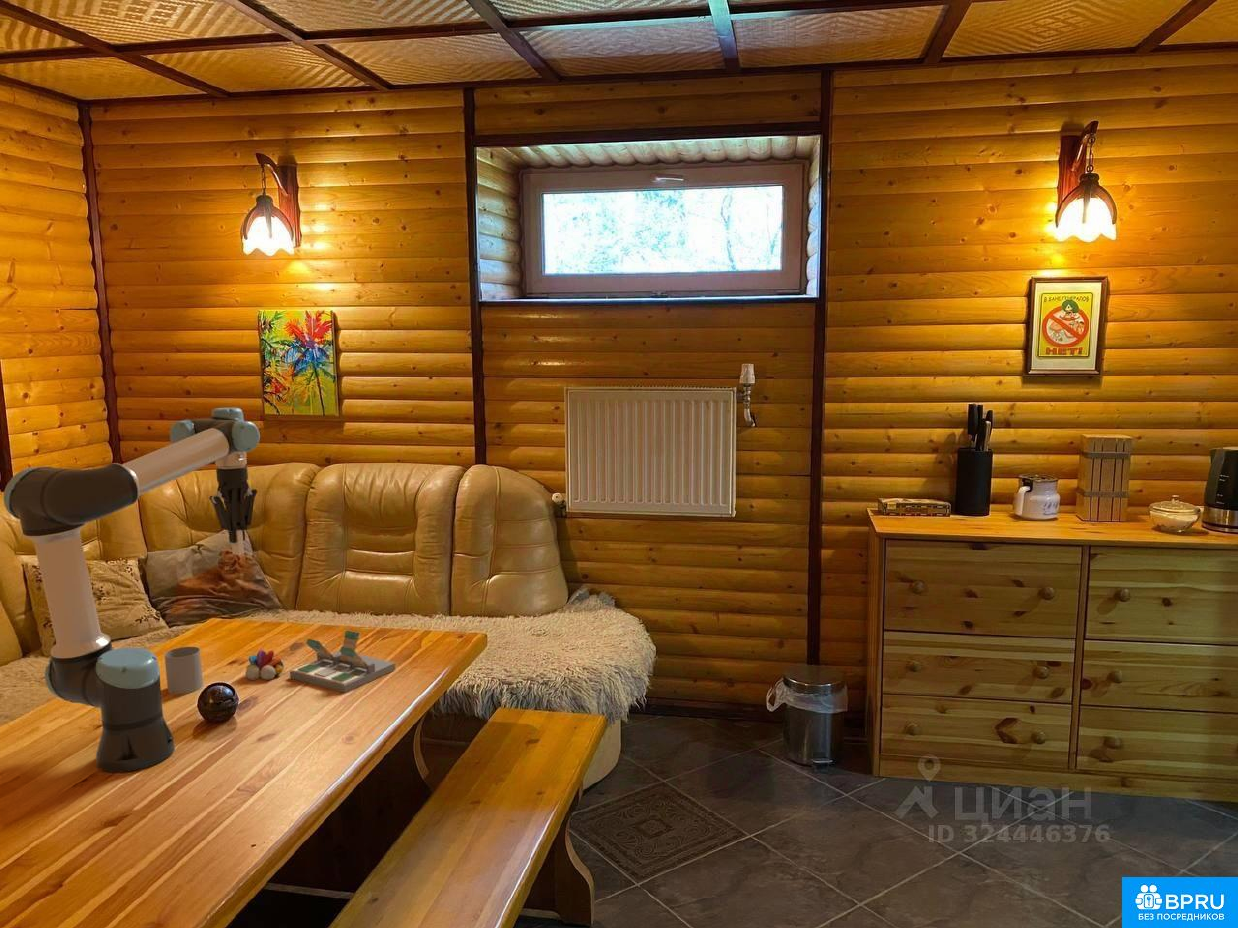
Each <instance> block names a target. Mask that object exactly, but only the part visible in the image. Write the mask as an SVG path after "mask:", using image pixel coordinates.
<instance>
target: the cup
mask: <svg viewBox="0 0 1238 928" xmlns="http://www.w3.org/2000/svg"><path fill="white" fill-rule="evenodd" d="M164 663H165V664H164V665H165V674H166V677H165V678H166V685H167V692H168V694H170V695H175V696H176V695H177V696H181V695H188V694H190V693H191V694H192V693H196V692H197V691H199V690H201V689H202V688H203V687H204V679H203V670H202V658H201V648H200V647H198V646H181V647H177V648H173V649H170V650H168V651H166V652H165V653H164Z"/></svg>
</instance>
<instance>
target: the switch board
mask: <svg viewBox="0 0 1238 928" xmlns="http://www.w3.org/2000/svg"><path fill="white" fill-rule="evenodd" d="M331 654H332V655H333V657H332V658H333V661H330V660H326V659H323V658H322V657H321V656H320V655H318V654H317V653H316V658H317V659H316V660H314V661H312V662H309V663H306V664H304V665H301V666H298V667H297V668H294V669H292V670H290V671H289V678H290V679H291V680H292V679H293V680H294V681H295V680H296V681H298V682H299V681H300V682H303V683H306V684H312V685H315V686H319V687H321V688H326V689H330V690H333V691H337V692H340V693H345V694H346V693H348V692H350V691H352V690H354V689H356V688H359V687H361V686H363V685H365V684H368V683H370V682H372V681H374V680H377V679H379V678H380V677H383V676H385V675H388V674H389V673H392V672H394V671H396V662H393V661H388V660H384V659H379V658H375V657H373V656H368V655H363V654H358V653H356V654H357V655H358V656H359V657H360V658H361V659H362V660H363V661H364V662H365V663H366V664H367V665H366V666H367V669H363V668H359V667H356V666H355V665H354V664H353V663H352V662H351V661H349V665H347V664H343V663H339V662H338V661H339V659H340V656H341V652H340V650H339V651H338V650H337V652H333V653H331Z"/></svg>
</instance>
